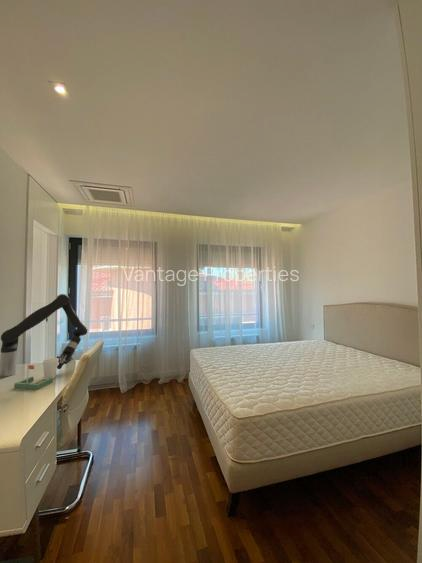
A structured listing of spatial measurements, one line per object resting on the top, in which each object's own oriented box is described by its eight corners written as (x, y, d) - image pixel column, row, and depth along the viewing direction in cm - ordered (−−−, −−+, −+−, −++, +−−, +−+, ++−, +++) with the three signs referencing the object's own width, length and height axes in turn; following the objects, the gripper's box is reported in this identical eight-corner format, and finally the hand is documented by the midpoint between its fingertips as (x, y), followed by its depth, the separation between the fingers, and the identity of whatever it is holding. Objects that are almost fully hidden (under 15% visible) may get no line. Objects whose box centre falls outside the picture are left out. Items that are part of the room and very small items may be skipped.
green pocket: (14, 388, 147) (15, 364, 148) (31, 380, 159) (32, 358, 160) (37, 389, 145) (38, 365, 146) (52, 382, 158) (54, 359, 159)
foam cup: (60, 375, 170) (61, 358, 170) (51, 380, 161) (52, 361, 161) (49, 375, 171) (50, 357, 171) (38, 379, 162) (39, 361, 162)
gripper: (60, 345, 185) (47, 365, 172) (76, 346, 183) (64, 366, 171) (65, 350, 190) (52, 370, 177) (80, 351, 188) (68, 371, 176)
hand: (58, 368), depth 174 cm, fingers closed
